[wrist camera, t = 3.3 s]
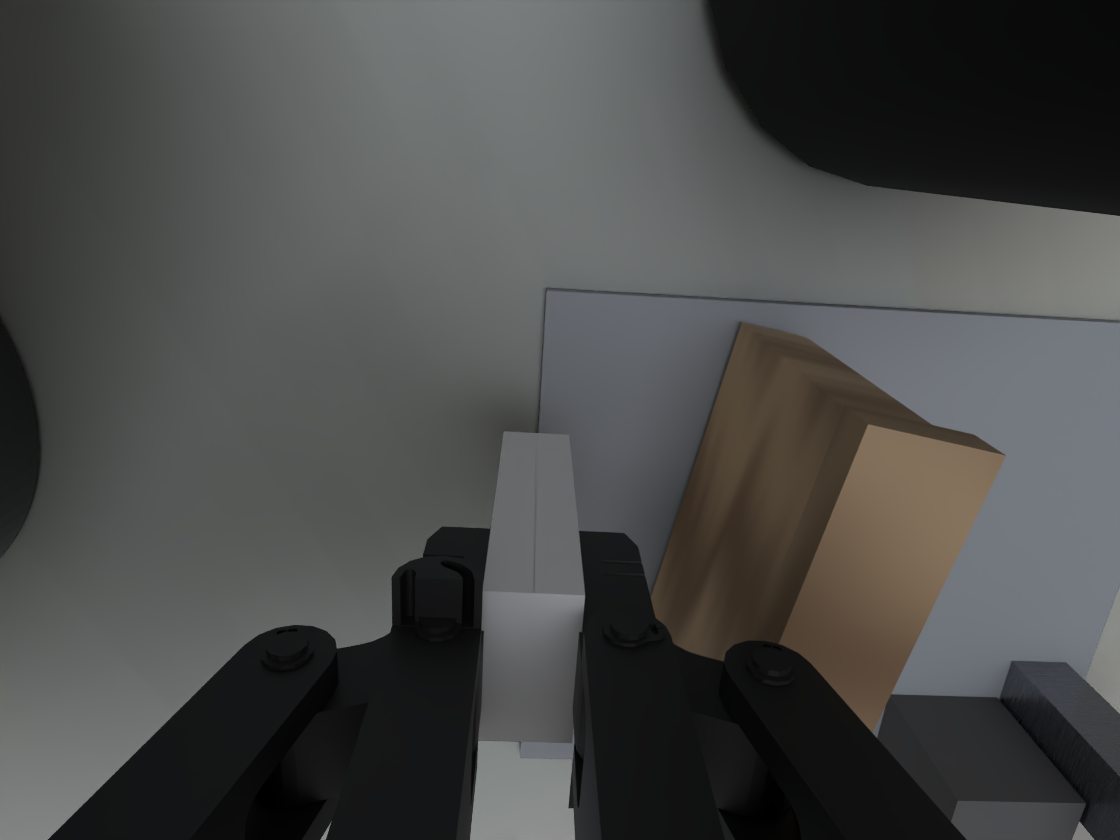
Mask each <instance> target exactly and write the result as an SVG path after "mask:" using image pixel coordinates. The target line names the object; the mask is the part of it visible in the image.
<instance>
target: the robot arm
mask: <svg viewBox="0 0 1120 840" xmlns="http://www.w3.org/2000/svg"><path fill="white" fill-rule="evenodd" d="M37 469H38V433H37V425H36V418H35V412H34V407H33V403H32V399H31V394H30V391H29V388H28V385H27V381H26V378H25V375H24V373H23V370H22V367H21V365H20V362H19V360H18V357H17V355H16V353H15V351H14V349H13V347H12V345H11V342H10V340H9V338H8V336H7V335H6V333H5V331H4V329H3V328H2V326H1V324H0V558H1V556H2V555H3V554H4V553H5V552H6V550H7V549H8V548H9V546H10V545H11V543H12V542H13V540H14V539H15V537H16V535H17V534H18V532H19V530H20V528H21V526H22V524H23V522H24V520H25V517H26V515H27V513H28V510H29V507H30V504H31V501H32V497H33V493H34V489H35V484H36V478H37ZM573 730H574V752H573V763H572V775H571V786H570V797H569V808H574V824H575V840H967V839H966V838H965V837H964V836H963V835H962V834H961V833H960V831H959V830H958V829H957V828H956V827H955V826H954V825H953V824H952V822H951V821H950V820H949V819H948V818H947V817H946V816H945V815H944V813H943V812H942V811H941V810H940V809H939V808H938V807H937V805H936V804H935V803H934V802H933V801H932V800H931V799H930V798H929V796H928V795H927V794H926V793H925V792H924V791H923V790H922V788H921V787H920V786H919V785H918V784H917V783H916V782H915V781H914V779H913V778H912V777H911V776H910V775H909V774H908V773H907V771H906V770H905V769H904V768H903V767H902V766H901V765H900V764H899V762H898V761H897V760H896V759H895V758H894V757H893V756H892V755H891V753H890V752H889V751H888V750H887V749H886V748H885V747H884V745H883V744H882V743H881V742H880V741H879V740H878V739H877V738H876V736H875V735H874V734H873V733H872V732H871V731H870V730H869V728H868V727H867V726H866V725H865V724H864V723H863V722H862V721H861V719H860V718H859V717H858V716H857V715H856V714H855V713H854V711H853V710H852V709H851V708H850V707H849V706H848V705H847V704H846V702H845V701H844V700H843V699H842V698H841V697H840V696H839V695H838V693H837V692H836V691H835V690H834V689H833V688H832V687H831V685H830V684H829V683H828V682H827V681H826V680H825V679H824V678H823V676H822V675H821V674H820V673H819V672H818V671H817V670H816V668H815V667H814V666H813V665H812V664H811V663H810V662H809V661H808V660H806V659H805V658H804V657H803V656H802V655H800V654H799V653H798V652H796V651H794V650H792V649H789V648H787V647H785V646H783V645H780V644H777V643H772V642H768V641H751V640H748V641H744V642H741V643H737V644H734V645H733V646H732V647H731V648H730V649H729V650H727V651H726V653H725V658H724V661H720V660H716V659H712V658H709V657H705V656H701V655H698V654H695V653H692V652H689V651H686V650H684V649H683V648H681V647H679V646H677V645H675V644H674V643H673V641H672V637H671V634H670V633H669V631H668V629H667V628H666V626H665V625H664V624H663V623H662V622H660V621H659V620H658V619H656V617H655V613H654V609H653V605H652V601H651V597H650V593H649V589H648V585H647V581H646V577H645V573H644V569H643V565H642V560H641V556H640V552H639V548H638V546H637V545H636V544H635V543H634V542H633V541H632V540H631V539H630V538H629V537H628V536H627V535H626V534H625V533H617V532H595V531H579V528H578V518H577V508H576V498H575V488H574V478H573V468H572V458H571V448H570V438H569V435H566V434H547V433H527V432H507V431H504V433H503V441H502V448H501V456H500V463H499V471H498V478H497V486H496V493H495V500H494V508H493V515H492V523H491V529H485V528H462V527H441V528H440V529H439V530H438V531H437V532H435V533H434V534H433V535H432V536H431V537H430V538H428V539H427V543H426V546H425V550H424V553H423V557H422V558H419V559H416V560H412V561H409V562H408V563H406V564H404V565H403V566H401V567H399V568H398V569H397V571H396V572H395V573H394V575H393V576H392V628H391V632H390V633H389V634H387V635H386V636H384V637H382V638H380V639H377V640H375V641H372V642H369V643H365V644H361V645H356V646H350V647H344V648H338V649H337V647H336V641H335V639H334V638H333V637H332V636H331V635H330V634H329V633H328V632H327V631H325V630H322V629H319V628H316V627H313V626H302V625H292V626H285V627H280V628H275V629H272V630H270V631H267V632H265V633H262V634H260V635H258V636H256V637H255V638H254V639H252V640H251V641H249V642H248V643H247V644H245V645H244V646H243V647H242V648H241V649H240V650H239V651H238V652H237V653H236V654H235V655H234V656H233V657H232V658H231V659H230V660H229V661H228V662H227V663H226V664H225V665H224V666H223V667H222V668H221V669H220V670H219V671H218V672H217V673H216V674H215V675H214V676H213V677H212V678H211V679H210V680H209V681H208V682H207V683H206V684H205V685H204V686H203V687H202V688H201V689H200V690H199V691H198V692H197V693H196V694H195V695H194V696H193V697H192V698H191V699H190V700H189V701H188V702H187V703H186V704H185V705H184V706H183V707H182V708H181V709H180V710H178V711H177V712H176V713H175V714H174V715H173V716H172V717H171V718H170V719H169V720H168V721H167V722H166V723H165V724H164V725H163V726H162V727H161V728H160V729H159V730H158V731H157V732H156V733H155V734H154V735H153V736H152V737H151V738H150V739H149V740H148V741H147V742H146V743H145V744H144V745H143V746H142V747H141V748H140V749H139V750H138V751H137V752H136V753H135V754H134V755H133V756H132V757H131V758H130V759H129V760H128V761H127V762H126V763H125V764H124V765H123V766H122V767H121V768H120V769H119V770H118V771H117V772H116V773H115V774H114V775H113V776H112V777H111V778H110V779H109V780H108V781H107V782H106V783H105V784H104V785H103V786H102V787H101V788H100V789H99V790H98V791H97V792H96V793H95V794H94V795H93V796H92V797H91V798H90V799H89V800H88V801H87V802H85V803H84V804H83V805H82V806H81V807H80V808H79V809H78V810H77V811H76V812H75V813H74V814H73V815H72V816H71V817H70V818H69V819H68V820H67V821H66V822H65V823H64V824H63V825H62V826H61V827H60V828H59V829H58V830H57V831H56V832H55V833H54V834H53V835H52V836H51V837H50V838H49V839H48V840H320V839H321V837H322V836H323V834H324V833H325V831H326V829H327V828H328V826H329V824H330V823H331V825H330V828H329V832H328V835H327V838H326V840H470V832H471V822H472V812H473V802H474V792H475V782H476V772H477V753H478V740H479V741H511V742H542V743H572V742H573ZM331 821H332V822H331Z"/></svg>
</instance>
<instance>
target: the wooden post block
mask: <svg viewBox="0 0 1120 840" xmlns="http://www.w3.org/2000/svg"><path fill="white" fill-rule="evenodd" d="M1005 457H1006V455H1005V454H1003V453H1002V452H1000V451H999V450H997V449H995V448H994V447H992V446H991V445H989V444H988V443H986V442H985V441H983V440H982V439H980V438H979V437H977V436H976V435H974V434H970V433H965V432H961V431H956V430H952V429H948V428H943V427H939V426H934V425H932V424H930V423H929V422H927V421H926V420H924V419H923V418H922V417H920V416H919V415H917V414H916V413H914V412H913V411H912V410H910V409H909V408H907V407H906V406H904V405H903V404H902V403H900V402H899V401H897V400H896V399H894V398H893V397H892V396H890V395H889V394H887V393H886V392H884V391H883V390H882V389H880V388H879V387H877V386H876V385H874V384H873V383H872V382H870V381H869V380H867V379H866V378H864V377H863V376H862V375H860V374H859V373H857V372H856V371H854V370H853V369H851V368H850V367H849V366H847V365H846V364H844V363H843V362H841V361H840V360H839V359H837V358H836V357H834V356H833V355H831V354H830V353H829V352H827V351H826V350H824V349H823V348H821V347H820V346H819V345H817V344H816V343H814V342H813V341H811V340H810V339H809V338H807V337H803V336H798V335H794V334H790V333H786V332H782V331H777V330H773V329H769V328H765V327H761V326H756V325H752V324H748V323H744V322H742V323H741V326H740V329H739V332H738V335H737V338H736V341H735V344H734V347H733V350H732V353H731V357H730V360H729V363H728V366H727V369H726V372H725V375H724V378H723V381H722V384H721V387H720V390H719V393H718V396H717V399H716V402H715V405H714V408H713V411H712V414H711V417H710V420H709V423H708V426H707V429H706V432H705V435H704V438H703V441H702V444H701V447H700V451H699V454H698V457H697V460H696V463H695V466H694V469H693V472H692V475H691V478H690V481H689V484H688V487H687V490H686V493H685V496H684V499H683V502H682V505H681V508H680V511H679V514H678V517H677V520H676V523H675V526H674V529H673V532H672V535H671V538H670V541H669V545H668V548H667V551H666V554H665V557H664V560H663V563H662V566H661V569H660V572H659V575H658V578H657V581H656V584H655V587H654V590H653V593H652V596H651V601H652V605H653V609H654V613H655V617H656V619H658V620H659V621H660V622H662V623H663V624H664V625H665V626H666V628H667V629H668V631H669V633H670V634H671V637H672V641H673V643H674V644H675V645H677V646H679V647H681V648H683V649H684V650H686V651H689V652H692V653H695V654H698V655H701V656H705V657H709V658H712V659H716V660H720V661H724V658H725V653H726V651H727V650H729V649H730V648H731V647H732V646H733V645H734V644H737V643H741V642H744V641H748V640H751V641H768V642H772V643H777V644H780V645H783V646H785V647H787V648H789V649H792V650H794V651H796V652H798V653H799V654H800V655H802V656H803V657H804V658H805V659H806V660H808V661H809V662H810V663H811V664H812V665H813V666H814V667H815V668H816V670H817V671H818V672H819V673H820V674H821V675H822V676H823V678H824V679H825V680H826V681H827V682H828V683H829V684H830V685H831V687H832V688H833V689H834V690H835V691H836V692H837V693H838V695H839V696H840V697H841V698H842V699H843V700H844V701H845V702H846V704H847V705H848V706H849V707H850V708H851V709H852V710H853V711H854V713H855V714H856V715H857V716H858V717H859V718H860V719H861V721H862V722H863V723H864V724H865V725H866V726H867V727H868V728H869V730H870V731H871V732H872V733H873V731H874V729H875V727H876V725H877V723H878V720H879V718H880V716H881V714H882V712H883V710H884V708H885V706H886V704H887V702H888V700H889V698H890V696H891V693H892V691H893V689H894V687H895V685H896V683H897V681H898V679H899V677H900V675H901V673H902V671H903V669H904V666H905V664H906V662H907V660H908V658H909V656H910V654H911V652H912V650H913V648H914V646H915V644H916V642H917V639H918V637H919V635H920V633H921V631H922V629H923V627H924V625H925V623H926V621H927V619H928V617H929V615H930V612H931V610H932V608H933V606H934V604H935V602H936V600H937V598H938V596H939V594H940V592H941V590H942V588H943V585H944V583H945V581H946V579H947V577H948V575H949V573H950V571H951V569H952V567H953V565H954V563H955V561H956V558H957V556H958V554H959V552H960V550H961V548H962V546H963V544H964V542H965V540H966V538H967V536H968V534H969V531H970V529H971V527H972V525H973V523H974V521H975V519H976V517H977V515H978V513H979V511H980V509H981V507H982V505H983V502H984V500H985V498H986V496H987V494H988V492H989V490H990V488H991V486H992V484H993V482H994V480H995V478H996V475H997V473H998V471H999V469H1000V467H1001V465H1002V463H1003V461H1004V459H1005Z"/></svg>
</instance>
